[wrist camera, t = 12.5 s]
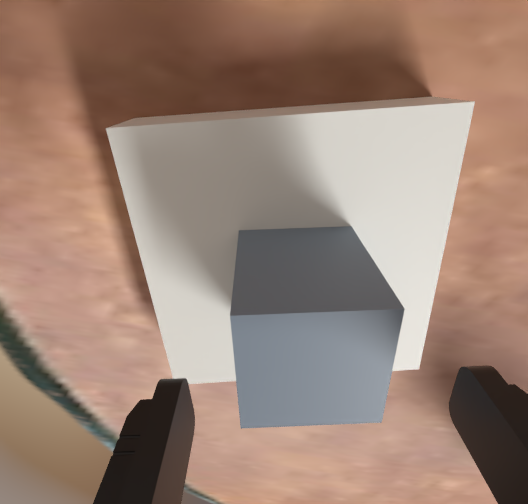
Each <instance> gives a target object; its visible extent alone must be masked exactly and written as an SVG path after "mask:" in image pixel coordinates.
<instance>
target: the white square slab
mask: <svg viewBox="0 0 528 504" xmlns="http://www.w3.org/2000/svg"><path fill="white" fill-rule="evenodd" d="M474 103H475V102H474V101H465V100H457V99H449V98H440V97H419V98H405V99H391V100H377V101H363V102H349V103H336V104H322V105H308V106H294V107H280V108H266V109H252V110H238V111H225V112H211V113H197V114H183V115H169V116H155V117H141V118H133V119H130V120H127V121H125V122H122V123H119V124H116V125H113V126H111V127H108V128H106V131H107V135H108V138H109V142H110V146H111V150H112V153H113V157H114V161H115V164H116V168H117V172H118V176H119V179H120V183H121V187H122V190H123V194H124V198H125V202H126V205H127V209H128V213H129V216H130V220H131V224H132V228H133V231H134V235H135V239H136V242H137V246H138V250H139V254H140V257H141V261H142V265H143V268H144V272H145V276H146V279H147V283H148V287H149V291H150V294H151V298H152V302H153V305H154V309H155V313H156V317H157V320H158V324H159V328H160V331H161V335H162V339H163V343H164V346H165V350H166V354H167V357H168V361H169V365H170V369H171V372H172V376H173V379H178V378H186V379H187V381H188V384H197V383H213V382H228V381H236V373H235V363H234V352H233V342H232V332H231V321H230V311H231V301H232V291H233V282H234V272H235V262H236V253H237V243H238V234H239V230H260V229H287V228H314V227H342V226H352V228H353V229H354V231H355V233H356V234H357V236H358V237H359V239H360V240H361V242H362V243H363V245H364V247H365V248H366V250H367V251H368V253H369V254H370V256H371V257H372V259H373V260H374V262H375V264H376V265H377V267H378V268H379V270H380V271H381V273H382V274H383V276H384V278H385V279H386V281H387V282H388V284H389V285H390V287H391V288H392V290H393V292H394V293H395V295H396V296H397V298H398V299H399V301H400V302H401V304H402V306H403V307H404V309H405V310H404V315H403V320H402V325H401V329H400V334H399V339H398V344H397V349H396V354H395V359H394V364H393V369H392V371H400V370H415V369H419V367H420V362H421V357H422V352H423V348H424V343H425V338H426V333H427V329H428V324H429V319H430V314H431V309H432V305H433V300H434V295H435V290H436V285H437V281H438V276H439V271H440V266H441V261H442V257H443V252H444V247H445V242H446V238H447V233H448V228H449V223H450V218H451V214H452V209H453V204H454V199H455V194H456V190H457V185H458V180H459V175H460V171H461V166H462V161H463V156H464V151H465V147H466V142H467V137H468V132H469V127H470V123H471V118H472V113H473V108H474Z"/></svg>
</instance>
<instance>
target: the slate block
mask: <svg viewBox="0 0 528 504" xmlns="http://www.w3.org/2000/svg"><path fill="white" fill-rule="evenodd" d="M404 310H405V309H404V307H403V306H402V304H401V302H400V301H399V299H398V298H397V296H396V295H395V293H394V292H393V290H392V288H391V287H390V285H389V284H388V282H387V281H386V279H385V278H384V276H383V274H382V273H381V271H380V270H379V268H378V267H377V265H376V264H375V262H374V260H373V259H372V257H371V256H370V254H369V253H368V251H367V250H366V248H365V247H364V245H363V243H362V242H361V240H360V239H359V237H358V236H357V234H356V233H355V231H354V229H353V228H352V226H342V227H314V228H287V229H260V230H239V234H238V243H237V253H236V262H235V272H234V282H233V291H232V301H231V311H230V321H231V332H232V342H233V352H234V363H235V373H236V383H237V394H238V404H239V414H240V425H241V428H261V427H285V426H309V425H333V424H357V423H381V422H382V418H383V413H384V408H385V403H386V398H387V393H388V388H389V384H390V379H391V374H392V369H393V364H394V359H395V354H396V349H397V344H398V339H399V334H400V329H401V325H402V320H403V315H404Z"/></svg>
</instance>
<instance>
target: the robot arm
mask: <svg viewBox="0 0 528 504" xmlns="http://www.w3.org/2000/svg"><path fill="white" fill-rule="evenodd" d="M449 410H450V415H451V418H452V421H453V423H454V425H455V427H456V429H457V431H458V433H459V434H460V436H461V438H462V440H463V441H464V443H465V445H466V447H467V449H468V450H469V452H470V454H471V456H472V458H473V459H474V461H475V463H476V465H477V467H478V468H479V470H480V472H481V474H482V476H483V477H484V479H485V481H486V483H487V485H488V486H489V488H490V490H491V492H492V493H493V495H494V497H495V499H496V501H497V502H498V504H528V394H527V393H525V392H524V391H523V390H521V389H520V388H519V387H517V386H516V385H515V384H513V385H508V384H507V383H506V381H505V380H504V379H503V378H502V376H501V375H500V374H499V373H498V371H497V370H496V369H494V368H493V367H491V366H470V367H461V368H460V369H459V372H458V375H457V378H456V381H455V385H454V388H453V391H452V394H451V398H450V401H449ZM194 426H195V415H194V409H193V404H192V399H191V395H190V390H189V386H188V381H187V379H186V378H178V379H161V380H159V382H158V384H157V386H156V390H155V393H154V396H153V399H146V400H140V401H139V402H138V403H137V405H136V406H135V407H134V408H133V410H132V411H131V412H130V413H129V415H128V416H127V418H126V420H125V423H124V425H123V428H122V431H121V433H120V438H119V439H118V441H117V443H116V446H115V449H114V451H113V456H111V459H110V461H109V464H108V467H107V469H106V472H105V475H104V477H103V480H102V482H101V485H100V487H99V490H98V492H97V495H96V497H95V500H94V503H93V504H181V501H182V495H183V490H184V484H185V479H186V473H187V468H188V462H189V457H190V451H191V446H192V441H193V435H194Z"/></svg>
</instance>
